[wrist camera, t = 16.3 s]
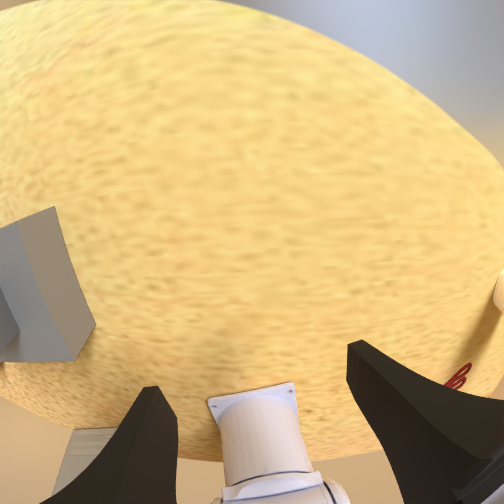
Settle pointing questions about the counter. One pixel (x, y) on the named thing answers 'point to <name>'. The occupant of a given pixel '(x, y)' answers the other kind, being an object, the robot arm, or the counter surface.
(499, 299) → the foam cup
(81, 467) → the skincare box
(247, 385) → the counter surface
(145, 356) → the counter surface
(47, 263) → the grey stemmed block
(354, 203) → the counter surface
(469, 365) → the scissors
